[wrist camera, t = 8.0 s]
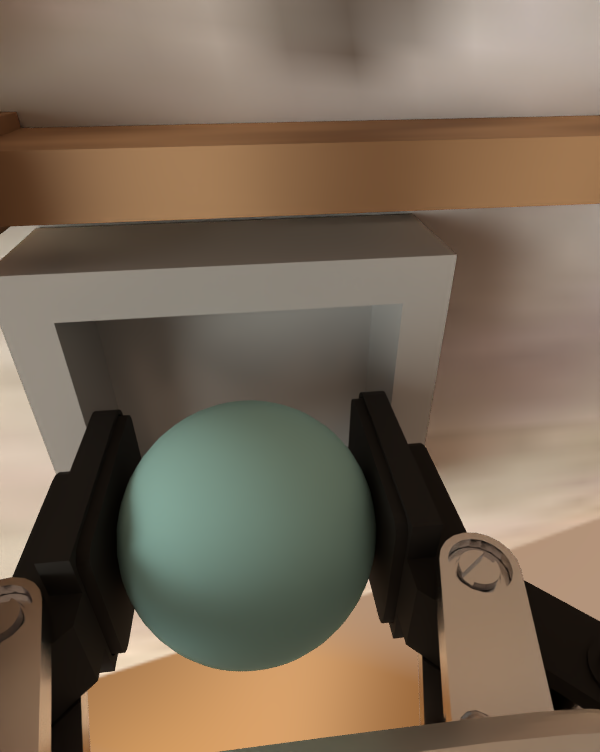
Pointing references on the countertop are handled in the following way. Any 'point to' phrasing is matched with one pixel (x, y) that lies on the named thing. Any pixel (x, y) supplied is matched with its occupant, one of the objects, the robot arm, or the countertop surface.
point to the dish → (225, 320)
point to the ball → (246, 535)
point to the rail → (292, 168)
